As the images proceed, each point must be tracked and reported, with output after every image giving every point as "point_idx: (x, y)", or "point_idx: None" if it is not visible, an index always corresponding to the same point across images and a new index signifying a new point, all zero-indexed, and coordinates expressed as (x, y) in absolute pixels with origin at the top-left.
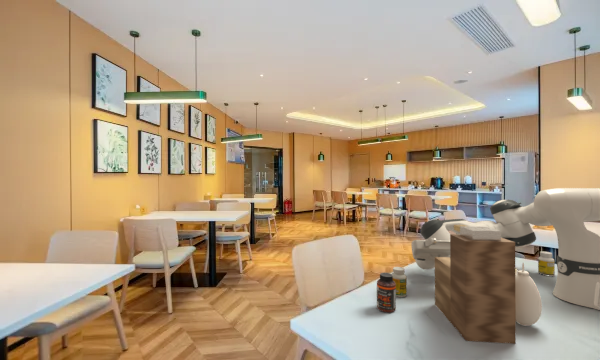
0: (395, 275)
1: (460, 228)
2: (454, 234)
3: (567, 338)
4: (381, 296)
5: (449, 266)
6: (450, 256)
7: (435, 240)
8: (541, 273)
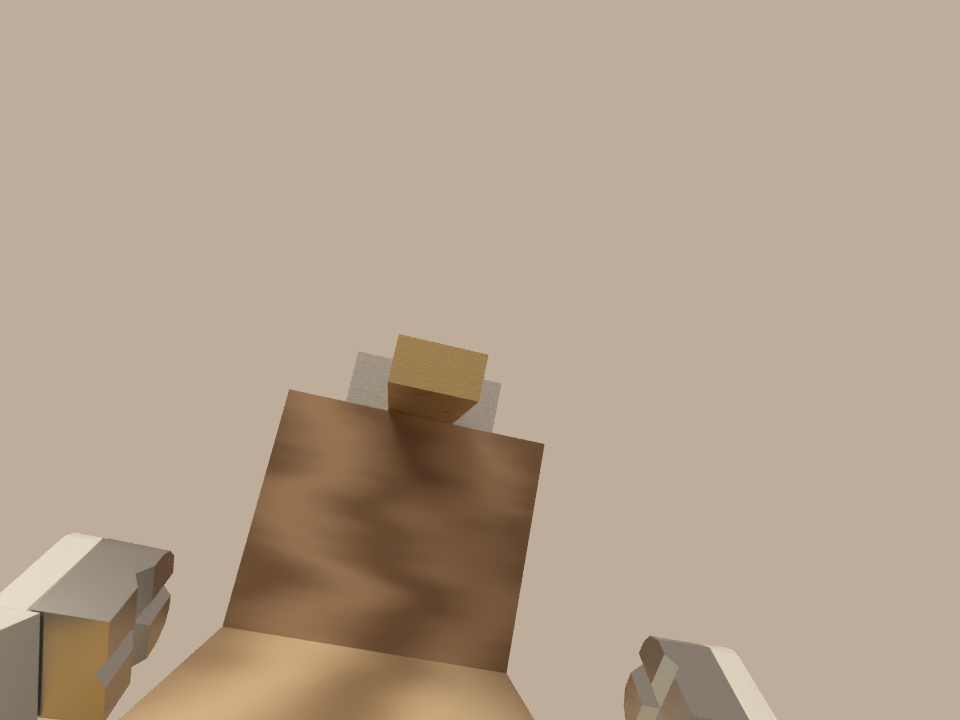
0: None
1: (497, 396)
2: (520, 439)
3: None
4: None
5: (503, 687)
6: (520, 586)
7: (647, 661)
8: None
